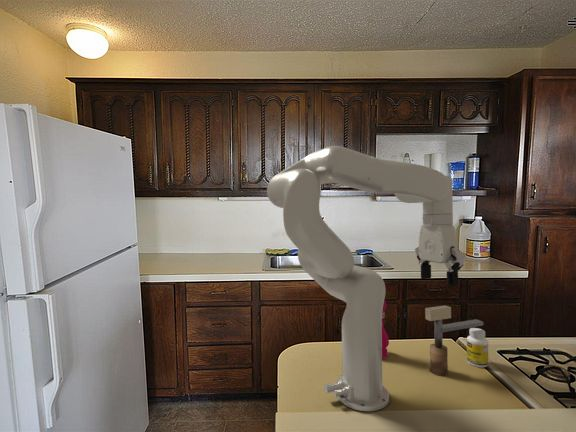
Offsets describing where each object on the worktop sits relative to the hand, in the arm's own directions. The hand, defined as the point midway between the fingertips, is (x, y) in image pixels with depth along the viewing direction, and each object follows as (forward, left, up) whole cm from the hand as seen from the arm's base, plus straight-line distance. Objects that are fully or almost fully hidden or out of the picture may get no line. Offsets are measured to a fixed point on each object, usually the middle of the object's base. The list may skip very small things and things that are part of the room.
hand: (438, 282), depth 89 cm
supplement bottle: (+14, 0, -25) cm, 29 cm away
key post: (0, 0, -25) cm, 25 cm away
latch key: (+6, 0, -18) cm, 19 cm away
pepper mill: (-10, +15, -25) cm, 31 cm away
